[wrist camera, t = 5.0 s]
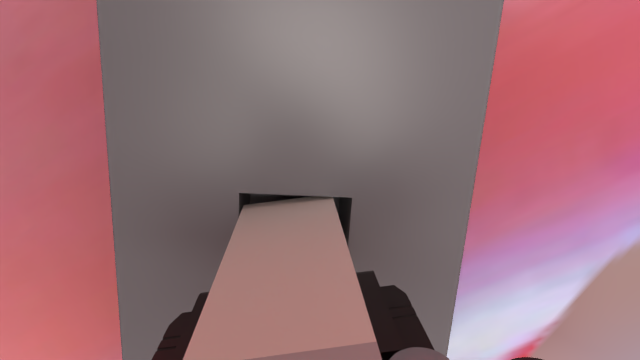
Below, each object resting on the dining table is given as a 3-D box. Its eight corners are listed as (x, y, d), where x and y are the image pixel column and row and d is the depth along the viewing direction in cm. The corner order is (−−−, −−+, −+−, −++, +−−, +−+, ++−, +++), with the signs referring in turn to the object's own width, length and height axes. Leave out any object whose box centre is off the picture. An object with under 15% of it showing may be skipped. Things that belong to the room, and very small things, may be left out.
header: (162, 390, 23) (130, 464, 18) (142, -38, 17) (91, -76, 13) (404, 392, 24) (429, 463, 19) (459, -13, 18) (510, -40, 14)
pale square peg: (257, 284, 17) (201, 590, 7) (243, 204, 16) (157, 424, 6) (340, 273, 17) (405, 559, 7) (331, 193, 16) (391, 390, 6)
